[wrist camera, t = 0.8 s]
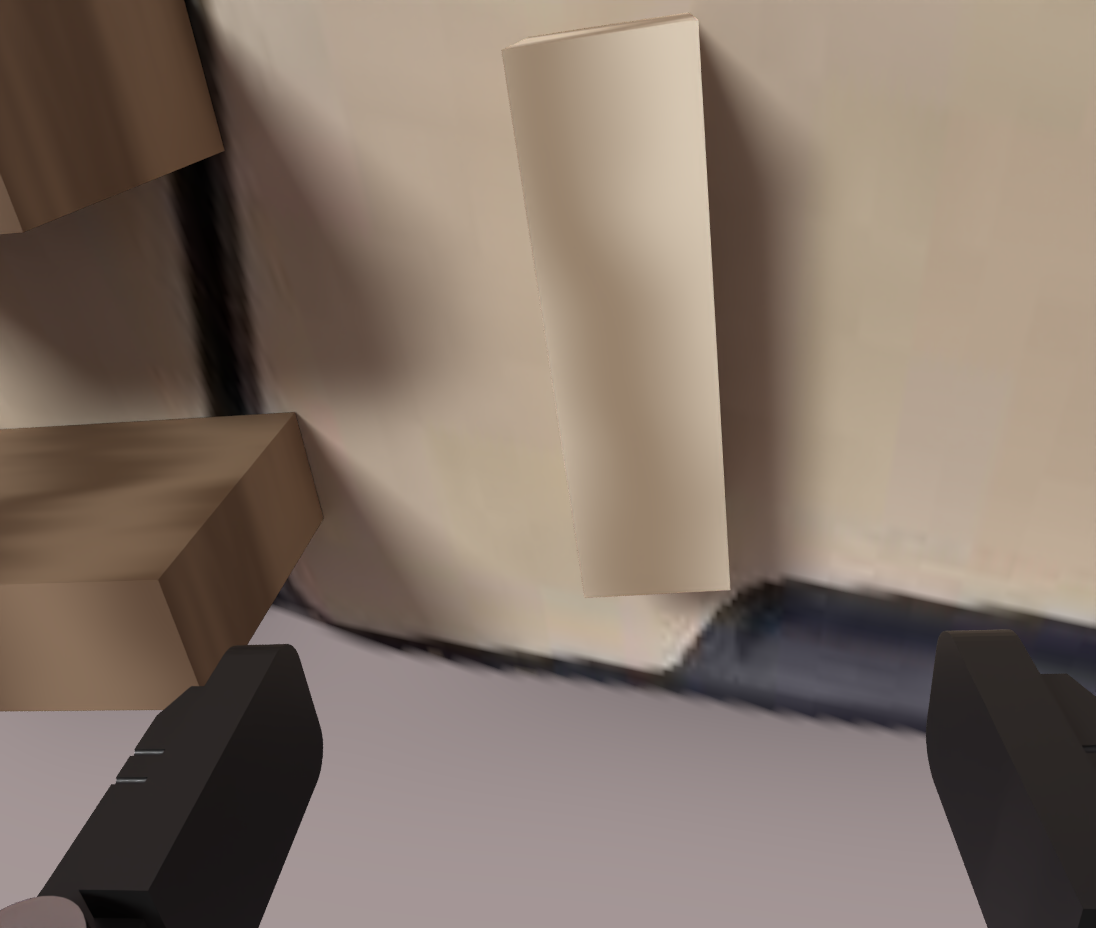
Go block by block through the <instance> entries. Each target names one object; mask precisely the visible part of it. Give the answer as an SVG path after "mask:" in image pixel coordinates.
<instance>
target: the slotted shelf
mask: <svg viewBox="0 0 1096 928" xmlns="http://www.w3.org/2000/svg"><path fill="white" fill-rule="evenodd" d="M223 151H225V150H224V147H223V143H222V139H221V135H220V132H219V128H218V124H217V121H216V117H215V113H214V109H213V106H212V102H211V98H210V95H209V91H208V87H207V83H206V80H205V76H204V72H203V69H202V65H201V61H200V57H199V54H198V50H197V46H196V43H195V39H194V35H193V31H192V28H191V24H190V20H189V17H188V13H187V9H186V5H185V2H184V0H0V234H10V233H21V232H25V231H28V230H30V229H33V228H35V227H37V226H40V225H42V224H45V223H47V222H50V221H52V220H55V219H57V218H60V217H62V216H65V215H67V214H70V213H72V212H75V211H77V210H79V209H82V208H84V207H87V206H89V205H92V204H94V203H97V202H99V201H102V200H104V199H107V198H109V197H112V196H114V195H117V194H119V193H121V192H124V191H126V190H129V189H131V188H134V187H136V186H139V185H141V184H144V183H146V182H149V181H151V180H154V179H156V178H158V177H161V176H163V175H166V174H168V173H171V172H173V171H176V170H178V169H181V168H183V167H186V166H188V165H191V164H193V163H196V162H198V161H200V160H203V159H205V158H208V157H210V156H213V155H215V154H218V153H220V152H223ZM323 519H324V518H323V515H322V511H321V507H320V503H319V500H318V496H317V492H316V489H315V485H314V481H313V477H312V474H311V470H310V466H309V463H308V459H307V455H306V451H305V448H304V444H303V440H302V437H301V433H300V429H299V425H298V422H297V418H296V414H295V412H291V413H274V414H257V415H240V416H223V417H206V418H189V419H172V420H155V421H138V422H121V423H104V424H87V425H70V426H53V427H35V428H18V429H1V430H0V711H87V710H88V711H91V710H93V711H94V710H164V709H165V708H166V707H167V706H169V705H170V704H171V703H172V702H173V701H174V700H176V699H177V698H178V697H179V696H180V695H181V694H183V693H184V692H185V691H186V690H187V689H188V688H190V687H191V686H205V684H206V682H207V681H208V679H209V677H210V676H211V674H212V673H213V671H214V669H215V668H216V666H217V665H218V663H219V661H220V660H221V658H222V656H223V655H224V654H225V652H226V651H227V650H228V649H229V648H230V647H232V646H236V645H247V644H248V643H249V641H250V639H251V638H252V636H253V635H254V633H255V631H256V629H257V628H258V626H259V625H260V623H261V621H262V620H263V618H264V616H265V615H266V613H267V611H268V610H269V608H270V606H271V605H272V603H273V601H274V600H275V598H276V596H277V595H278V593H279V591H280V590H281V588H282V586H283V585H284V583H285V582H286V580H287V578H288V577H289V575H290V573H291V572H292V570H293V568H294V567H295V565H296V563H297V562H298V560H299V558H300V557H301V555H302V553H303V552H304V550H305V548H306V547H307V545H308V543H309V542H310V540H311V538H312V537H313V535H314V533H315V532H316V530H317V529H318V527H319V525H320V524H321V522H322V520H323Z"/></svg>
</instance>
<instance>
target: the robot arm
mask: <svg viewBox="0 0 1096 928" xmlns="http://www.w3.org/2000/svg"><path fill="white" fill-rule="evenodd" d="M926 744H927V754H928V760H929V765H930V770H931V773H932V778H933V780H934V783H935V786H936V789H937V792H938V794H939V797H940V800H941V803H942V805H943V808H944V811H945V813H946V816H947V819H948V822H949V824H950V827H951V830H952V832H953V835H954V838H955V840H956V843H957V846H958V849H959V851H960V854H961V857H962V859H963V862H964V865H965V868H966V870H967V873H968V876H969V878H970V881H971V884H972V886H973V889H974V892H975V895H976V897H977V900H978V903H979V905H980V908H981V910H982V914H983V916H984V919H985V922H986V924H987V927H988V928H1096V696H1094V695H1093V694H1092V693H1091V692H1089V691H1088V690H1087V689H1085V688H1084V687H1083V686H1082V685H1080V684H1079V683H1078V682H1077V681H1075V680H1074V679H1073V678H1072V677H1070V676H1069V675H1068V674H1040V673H1039V671H1038V670H1037V668H1036V666H1035V664H1034V663H1033V661H1032V659H1031V657H1030V656H1029V654H1028V652H1027V651H1026V649H1025V647H1024V645H1023V644H1022V642H1021V640H1020V639H1019V637H1018V636H1017V635H1016V634H1015V633H1014V632H1013V631H1011V630H971V631H944V632H942V633H941V634H940V636H939V639H938V642H937V648H936V656H935V664H934V671H933V679H932V686H931V694H930V702H929V709H928V717H927V725H926ZM322 758H323V738H322V732H321V728H320V724H319V721H318V717H317V714H316V711H315V708H314V704H313V701H312V698H311V694H310V691H309V688H308V684H307V681H306V678H305V674H304V671H303V668H302V665H301V662H300V658H299V655H298V653H297V651H296V649H295V648H294V647H293V646H292V645H289V644H274V645H236V646H232V647H230V648H229V649H228V650H227V651H226V652H225V654H224V655H223V656H222V658H221V660H220V661H219V663H218V665H217V666H216V668H215V669H214V671H213V673H212V674H211V676H210V677H209V679H208V681H207V682H206V684H205V686H191V687H190V688H188V689H187V690H186V691H185V692H184V693H183V694H181V695H180V696H179V697H178V698H177V699H176V700H174V701H173V702H172V703H171V704H170V705H169V706H167V707H166V708H165V709H164V710H163V711H162V712H160V713H159V714H158V715H157V716H156V717H155V719H154V721H153V722H152V724H151V725H150V727H149V728H148V730H147V731H146V733H145V734H144V736H143V737H142V739H141V740H140V742H139V743H138V745H137V746H136V748H135V754H134V756H130V757H129V759H128V760H127V762H126V763H125V765H124V766H123V768H122V769H121V771H120V772H119V774H118V775H117V777H116V779H117V781H116V784H111V786H110V787H109V789H108V791H107V792H106V793H105V795H104V796H103V798H102V799H101V801H100V803H99V804H98V806H97V807H96V809H95V810H94V812H93V813H92V815H91V816H90V818H89V819H88V821H87V822H86V824H85V825H84V827H83V828H82V830H81V831H80V833H79V834H78V836H77V837H76V839H75V840H74V842H73V843H72V845H71V847H70V848H69V850H68V851H67V853H66V854H65V856H64V858H63V859H62V860H61V862H60V863H59V865H58V866H57V868H56V869H55V871H54V873H53V874H52V876H51V877H50V878H49V880H48V881H47V883H46V884H45V886H44V888H43V889H42V890H41V892H40V893H39V895H38V896H37V897H34V898H30V899H26V900H23V901H20V902H17V903H15V904H12V905H10V906H7V907H5V908H3V909H1V910H0V928H258V927H259V925H260V922H261V920H262V917H263V915H264V912H265V910H266V907H267V905H268V903H269V900H270V897H271V895H272V893H273V890H274V888H275V885H276V883H277V880H278V878H279V875H280V873H281V870H282V868H283V865H284V863H285V860H286V858H287V855H288V853H289V850H290V848H291V845H292V843H293V840H294V838H295V835H296V833H297V830H298V828H299V826H300V823H301V821H302V818H303V816H304V813H305V811H306V808H307V806H308V803H309V801H310V798H311V795H312V793H313V791H314V788H315V786H316V783H317V781H318V778H319V774H320V771H321V765H322Z"/></svg>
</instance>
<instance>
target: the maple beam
mask: <svg viewBox="0 0 1096 928" xmlns="http://www.w3.org/2000/svg"><path fill="white" fill-rule="evenodd" d="M501 51H502V57H503V64H504V70H505V77H506V84H507V90H508V97H509V103H510V110H511V117H512V123H513V130H514V136H515V143H516V149H517V156H518V163H519V169H520V176H521V182H522V189H523V196H524V202H525V209H526V215H527V222H528V228H529V235H530V242H531V248H532V255H533V261H534V268H535V275H536V281H537V288H538V294H539V301H540V308H541V314H542V321H543V327H544V334H545V340H546V347H547V354H548V360H549V367H550V373H551V380H552V387H553V393H554V400H555V406H556V413H557V420H558V426H559V433H560V439H561V446H562V452H563V459H564V466H565V472H566V479H567V485H568V492H569V499H570V505H571V512H572V518H573V525H574V532H575V538H576V545H577V551H578V558H579V564H580V571H581V578H582V584H583V591H584V597H585V598H593V597H612V596H630V595H648V594H667V593H685V592H704V591H722V590H730V575H729V558H728V540H727V522H726V504H725V487H724V469H723V451H722V433H721V416H720V398H719V380H718V362H717V345H716V327H715V309H714V292H713V274H712V256H711V238H710V221H709V203H708V185H707V167H706V150H705V132H704V114H703V96H702V79H701V61H700V43H699V25H698V19H696V18H695V17H694V16H693V15H691V14H690V13H689V12H688V13H681V14H675V15H668V16H662V17H655V18H649V19H642V20H636V21H629V22H623V23H617V24H610V25H604V26H597V27H591V28H584V29H578V30H571V31H565V32H558V33H552V34H546V35H539V36H533V37H528V38H526V39H524V40H522V41H520V42H517V43H515V44H513V45H511V46H509V47H507V48H505V49H503V50H501Z"/></svg>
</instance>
